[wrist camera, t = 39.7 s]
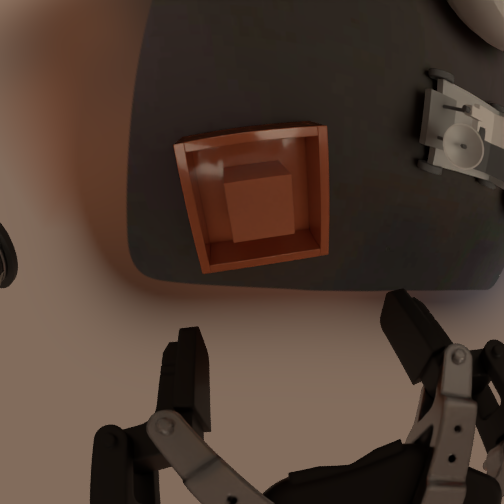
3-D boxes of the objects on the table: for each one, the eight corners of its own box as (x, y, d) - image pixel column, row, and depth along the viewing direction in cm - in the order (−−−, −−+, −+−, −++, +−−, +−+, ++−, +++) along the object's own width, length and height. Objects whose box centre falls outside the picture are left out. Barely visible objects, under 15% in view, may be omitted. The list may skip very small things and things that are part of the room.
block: (231, 217, 26) (233, 243, 22) (223, 167, 24) (223, 183, 19) (283, 210, 26) (295, 233, 22) (278, 159, 24) (291, 174, 20)
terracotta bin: (204, 248, 28) (202, 274, 25) (181, 137, 22) (172, 144, 18) (314, 232, 29) (328, 254, 25) (309, 120, 23) (327, 125, 19)
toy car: (455, 194, 17) (472, 59, 11) (394, 161, 25) (405, 60, 19) (532, 213, 19) (549, 125, 13) (484, 183, 27) (496, 108, 21)
